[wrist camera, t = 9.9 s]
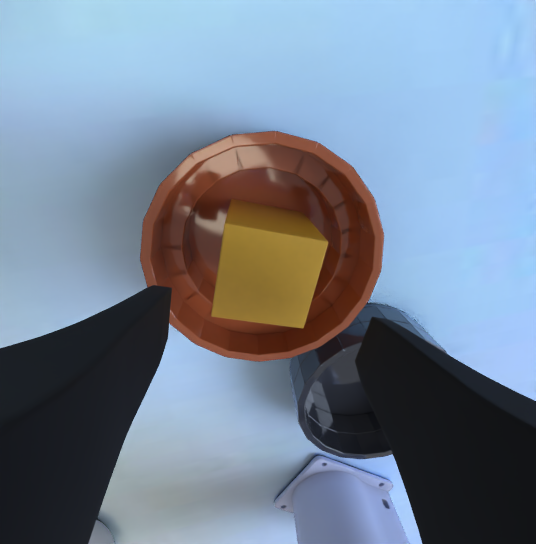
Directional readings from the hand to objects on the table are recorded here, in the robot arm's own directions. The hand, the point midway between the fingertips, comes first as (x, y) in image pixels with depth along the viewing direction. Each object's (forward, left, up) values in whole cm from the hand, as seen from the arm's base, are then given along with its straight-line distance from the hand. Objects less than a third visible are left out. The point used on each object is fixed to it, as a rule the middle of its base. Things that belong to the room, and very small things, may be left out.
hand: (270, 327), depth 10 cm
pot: (-12, +5, -9) cm, 16 cm away
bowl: (0, 0, -9) cm, 9 cm away
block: (0, -1, -9) cm, 9 cm away
